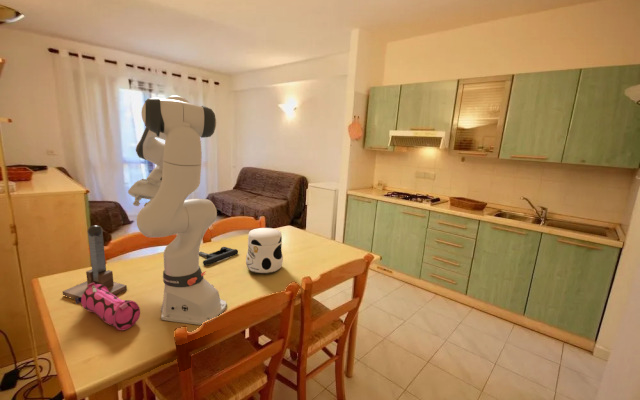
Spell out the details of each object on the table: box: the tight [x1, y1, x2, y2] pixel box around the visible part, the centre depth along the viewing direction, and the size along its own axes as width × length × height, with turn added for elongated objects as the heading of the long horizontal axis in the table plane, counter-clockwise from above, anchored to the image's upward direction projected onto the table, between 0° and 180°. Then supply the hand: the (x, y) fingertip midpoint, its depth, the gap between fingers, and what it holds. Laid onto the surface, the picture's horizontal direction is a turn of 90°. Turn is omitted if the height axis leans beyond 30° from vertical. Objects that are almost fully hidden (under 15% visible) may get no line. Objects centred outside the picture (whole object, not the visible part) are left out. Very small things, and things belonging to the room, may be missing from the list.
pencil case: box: [74, 282, 141, 331], centre depth 94 cm, size 21×10×10 cm, turn 64°
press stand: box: [62, 268, 128, 300], centre depth 108 cm, size 16×12×8 cm
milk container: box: [245, 227, 284, 275], centre depth 136 cm, size 17×17×18 cm
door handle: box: [199, 246, 239, 266], centre depth 147 cm, size 3×20×16 cm
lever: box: [86, 224, 107, 282], centre depth 107 cm, size 4×4×22 cm
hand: (140, 206), depth 123 cm, fingers open, 5 cm apart
